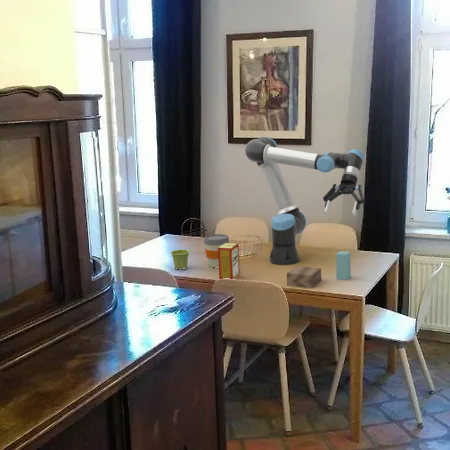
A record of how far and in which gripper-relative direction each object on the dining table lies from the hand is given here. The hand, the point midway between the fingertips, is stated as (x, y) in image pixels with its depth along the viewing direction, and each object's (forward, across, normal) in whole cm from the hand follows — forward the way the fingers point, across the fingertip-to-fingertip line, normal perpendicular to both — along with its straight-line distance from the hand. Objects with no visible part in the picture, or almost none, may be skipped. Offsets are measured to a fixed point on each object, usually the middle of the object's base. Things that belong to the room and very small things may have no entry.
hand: (339, 213), depth 300 cm
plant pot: (+37, +75, -2) cm, 84 cm away
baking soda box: (+41, +44, +1) cm, 60 cm away
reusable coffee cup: (+29, +60, -10) cm, 68 cm away
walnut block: (+37, +8, -2) cm, 38 cm away
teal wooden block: (+28, -6, -11) cm, 30 cm away
